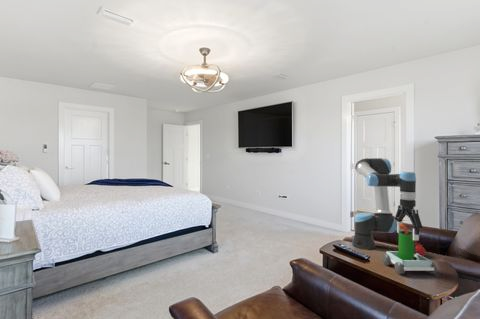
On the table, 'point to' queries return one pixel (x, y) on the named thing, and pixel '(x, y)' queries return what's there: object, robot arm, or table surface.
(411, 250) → the motor
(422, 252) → the pomegranate
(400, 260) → the chassis
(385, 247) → the table surface
